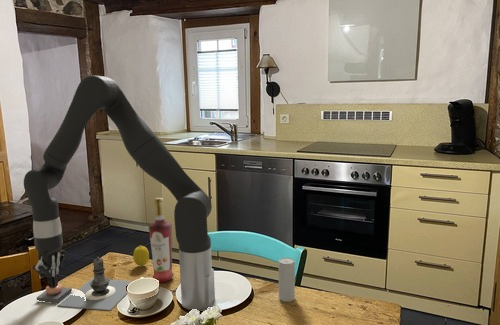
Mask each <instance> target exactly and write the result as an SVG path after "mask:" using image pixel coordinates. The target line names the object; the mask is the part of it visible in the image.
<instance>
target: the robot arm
mask: <svg viewBox="0 0 500 325" xmlns="http://www.w3.org/2000/svg"><path fill="white" fill-rule="evenodd" d="M99 110H102V111H103V112H104V113H105V114H106V115H107V116H108V118H109V119H110V120H111V121H112V122H113V123H114V124H115V127H116V128H117V129H118V132H119V134H120V137H121V140H122V142H123V145H124V147H125V150H126V151H127V153H128V154H129V156H130V157H131V158H132V159H133V160H134V162H135V163H136V165H138V167H139V168H140V169H141V170H143V171H144V173H146V174H147V175H149V176H150V177H151V178H153V179H154V180H156V181H157V182H159V183H160V184H161V185H163V186H164V187H165V188H166V189H168V191H169V192H170V193H171V195H172V196H173V197H174V198H175V201H177V202H176V204H175V206H174V211H173V214H174V215H173V219H174V220H173V221H174V228H175V230H174V232H175V239H176V241H177V244H178V253H179V254H178V255H179V259H178V261H179V274H180V275H179V277H180V294H181V297H180V299H181V300H180V301H181V306H182V307H183V308H185V309H186V310H189V311H192V310H191V309H197V310H196V311H199V310H204V309H209V308H208V307H210V306H211V307H212V305H213V303H214V301H215V300H216V294H215V292H216V291H215V289H216V288H215V270H214V269H215V268H212V267H213V266H212V265H213V264H212V240H211V236H209V233H208V217H209V216H210V214H211V212H212V208H213V207H212V205H213V204H212V201H211V198H210V197H209V196H208V194H207V193H206V192H205V191H204V190H203V189H202V188H201V187H200V186H199V185H198V184H197V183H196V182H195V181H194V180H193V179H192V178H191V177H190V176H189V175H188V174H187V173H186V171H185V170H184V169H183V167H182V166H181V165H180V163H179V162H178V161H177V160H176V159H175V157H174V155H172V153H171V152H170V151H169V149H168V148H167V146H166V145H165V144H164V143H163V142H162V141H161V139H160V138H159V137H158V136H157V134H156V133H155V132H154V131H153V130H152V129H151V128H150V126H149V125H148V124H147V123H146V122H145V120H144V119H143V118H142V117H141V116H140V115H139V113H138V112H137V111H136V110H135V108H134V107H133V105H132V104H131V103H130V101H129V100H128V98H127V96H126V95H125V93H124V92H123V90H122V88H121V87H120V85H119V84H118V83H117V82H116V81H115V80H114V79H112V78H110V77H107V76H105V75H104V76H102V75H95V74H93V75H88V76H85V77H83V79H82V80H81V81H79V84H78V86H77V87H76V89H75V92H74V95H73V98H72V99H71V102H70V105H69V107H68V109H67V112H66V114H65V116H64V119H63V121H61V122H62V123H61V124H60V126H59V128H58V130H57V131H56V133H55V135H54V137H52V139H51V141H50V143H49V144H48V145H47V147H46V149H45V150H44V153H43V155H42V159H43V161H44V163H43V165H42V166H41V167H37V168H35V169H34V168H33V169H30V170H29V171H27V173H25V175H24V177H23V189H24V191H25V194H26V196H27V199H28V201H29V204H30V205H31V206H30V207H31V212H32V220H33V221H32V222H33V223H32V229H33V230H32V231H33V239H34V240H33V241H34V248H35V251H37V252H38V256H37V260H38V261H37V264H34V265H33V267H32V269H33V270H34V271H35V272H36V273H37V274H38V275H39V276H40V277H41V278H46V279H47V286H49V287H50V288H55V287H56V286H57V285H58V283H59V277H58V276H59V275H58V274H59V272H60V271H61V270H62V269H63V267H64V262H65V260H66V258H67V254H68V251H67V250H62V247H63V245H64V240H63V230H62V223H61V222H62V221H61V218H60V211H59V210H60V209H59V203H58V200H57V199H56V198H55V197H51V196H50V192H49V190H51V189H54V188H56V187H57V186H58V185H59V183H60V182H61V181H62V179H63V177H64V175H65V173H66V170H67V165H68V164H69V163H70V161H71V160H72V158H73V156H74V155H75V153H76V152H77V150H78V149H79V148H80V144H81V141H82V139H83V138H82V137H83V134H84V131H85V128H86V126H87V124H88V122H89V120H91V118H92V117H93V116H94V115H95V114H96V113H97V111H99ZM211 307H210V308H211Z"/></svg>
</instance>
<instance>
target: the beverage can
mask: <svg viewBox="0 0 500 325" xmlns="http://www.w3.org/2000/svg"><path fill="white" fill-rule="evenodd" d="M295 266H296V262H295V259H293V258H291V257H282V258H279V259H278V267H277V268H278V299H279V300H280V301H282V302H284V303H290V302H293V301H294V299H295V297H296V295H295V293H296V292H295V291H296V288H295V287H296V286H295V285H296V284H295V283H296V282H295V281H296V278H295V277H296V267H295Z"/></svg>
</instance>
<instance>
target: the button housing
mask: <svg viewBox="0 0 500 325" xmlns="http://www.w3.org/2000/svg"><path fill="white" fill-rule="evenodd" d="M71 291H72V292H73V288H72V287H66V286H65V287H63V286H62V291H61V292H59V293H58V294H57V295H49V294H47V293H46V290H45V291H43V292H42V293H41V294H39V295H38V296H36V301H37V300H39V301H45V302H51V303H50V304H56V303H57V304H58V305H59V304H60V303H61V302H63V301H64V300H65V299H66V298H67V297H68V296H69V295H70V294H69V293H70V292H71ZM68 294H69V295H68ZM67 295H68V296H67ZM66 296H67V297H66ZM65 297H66V298H65ZM60 301H61V302H60Z"/></svg>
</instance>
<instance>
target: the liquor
mask: <svg viewBox="0 0 500 325" xmlns="http://www.w3.org/2000/svg"><path fill="white" fill-rule="evenodd" d="M154 206H155V220H154V221H153V222H152V223H151V224H150V225H149V226H148V231H149V241H150V248H151V255H152V256H151V257H152V264H153V265H152V266H153V275H152V279H153V278H155V279H157V280H159V282H158V283H160V284H161V283H163V284H164V283H167V282H169V281H170V280H171V279H172V278H173V277H174V275H175V274H174V272H173V255H172V254H173V251H172V250H173V249H172V248H173V233H172V232H173V230H172V229H173V227H172V226H173V224H172V223H170V222H169V221H168V220H165V215H164V214H165V213H164V198H163V197H155V198H154Z"/></svg>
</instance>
